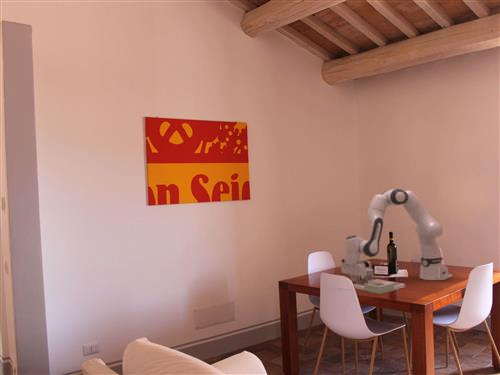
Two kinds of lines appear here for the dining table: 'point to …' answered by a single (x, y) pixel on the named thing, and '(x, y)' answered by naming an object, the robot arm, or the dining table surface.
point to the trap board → (380, 286)
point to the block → (362, 282)
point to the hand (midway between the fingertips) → (354, 281)
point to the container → (369, 272)
